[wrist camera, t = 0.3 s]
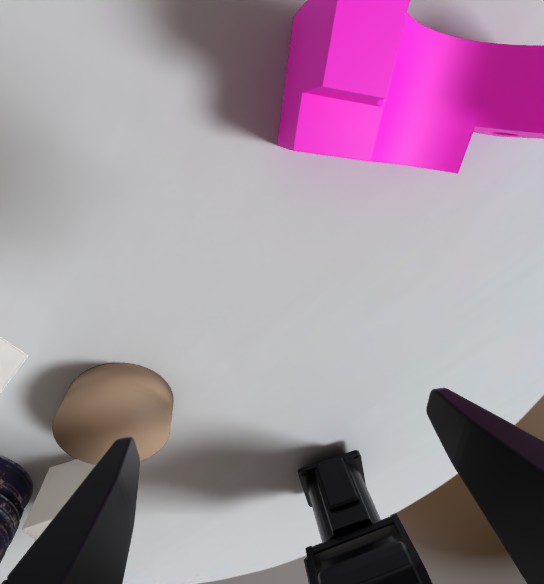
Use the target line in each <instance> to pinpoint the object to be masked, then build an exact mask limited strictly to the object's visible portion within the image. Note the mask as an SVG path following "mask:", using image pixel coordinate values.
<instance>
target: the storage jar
mask: <svg viewBox="0 0 544 584" xmlns="http://www.w3.org/2000/svg"><path fill="white" fill-rule="evenodd" d="M32 492H33V484H32V480H31V478H30V477H29V475H28V474H27V472H26V471H25V470H24V469H23V468H22V467H20V466H19V465H18V464H16V463H15V462H13V461H12V460H10V459H7V458H5V457H3V456H1V455H0V563H1V561H2V558H3V557H4V555H5V552H6V550H7V548H8V546H9V545H10V543H11V542H12V540H13V538H14V535H15V533H16V531H17V529H18V526H19V523H20V519H21V517H22V514H23V511H24V508H25V507H26V505H27V504H28V502H29V500H30V498H31V495H32Z"/></svg>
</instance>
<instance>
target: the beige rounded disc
mask: <svg viewBox="0 0 544 584" xmlns="http://www.w3.org/2000/svg"><path fill="white" fill-rule="evenodd" d="M172 409H173V394H172V391H171V388H170V387H169V385H168V383H167V382H166V381H165V380H164V379H163V378H162V377H161V376H160V375H158V374H157V373H155V372H154V371H152V370H150V369H148V368H145V367H143V366H139V365H135V364H129V363H109V364H103V365H99V366H96V367H94V368H91V369H89V370H87V371H85V372H84V373H82V374H81V375H80V376H78V377H77V378H76V379H75V380H74V382H73V383H72V384H71V386H70V388H69V390H68V392H67V394H66V396H65V398H64V400H63V402H62V404H61V406H60V408H59V410H58V411H57V413H56V415H55V418H54V421H53V426H52V429H53V435H54V438H55V440H56V442H57V443H58V445H59V446H60V447H61V448H62V449H63V450H64V451H65V452H66V453H67V454H69V455H70V456H72V457H74V458H75V459H78V460H80V461H82V462H85V463H89V464H93V465H96V464H97V463H98V462H99V460H100V459H101V458H102V457H103V455H104V454H105V453H106V452H107V450H108V449H109V448H110V447H111V445H112V444H113V443H114V442H115V440H117V439H119V438H124V437H133V438H134V440H135V444H136V447H137V450H138V453H139V457H140V461H143V460H145V459H147V458H149V457H151V456H152V455H154V454H155V453H156V452H158V451H159V450H160V449H161V448H162V447H163V446H164V444H165V443H166V441H167V439H168V437H169V434H170V427H171V418H172Z"/></svg>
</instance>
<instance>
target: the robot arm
mask: <svg viewBox="0 0 544 584" xmlns="http://www.w3.org/2000/svg"><path fill="white" fill-rule="evenodd" d="M427 415H428V417H429V419H430V421H431V423H432V425H433V427H434V429H435V431H436V433H437V435H438V437H439V439H440V441H441V443H442V445H443V447H444V449H445V451H446V453H447V455H448V457H449V458H450V460H451V462H452V464H453V466H454V467H455V469H456V471H457V472H458V474H459V475H460V477H461V478H462V480H463V482H464V483H465V485H466V486H467V488H468V490H469V491H470V493H471V494H472V496H473V498H474V499H475V501H476V502H477V504H478V506H479V507H480V509H481V510H482V512H483V513H484V515H485V517H486V518H487V520H488V522H489V523H490V525H491V526H492V528H493V529H494V531H495V533H496V534H497V536H498V538H499V539H500V541H501V542H502V544H503V545H504V547H505V549H506V550H507V552H508V553H509V555H510V557H511V558H512V560H513V561H514V563H515V565H516V566H517V568H518V569H519V571H520V573H521V574H522V576H523V577H524V579H525V581H526V582H527V584H544V441H543V440H541V439H539V438H537V437H535V436H533V435H531V434H530V433H528V432H526V431H524V430H522V429H520V428H519V427H517V426H515V425H513V424H511V423H509V422H508V421H506V420H504V419H502V418H500V417H498V416H496V415H495V414H493V413H491V412H489V411H487V410H485V409H484V408H482V407H480V406H478V405H476V404H474V403H473V402H471V401H469V400H467V399H465V398H463V397H461V396H460V395H458V394H456V393H454V392H452V391H450V390H449V389H446V388H438V389H433V390H432V391H431V392H430V396H429V400H428V404H427ZM139 467H140V457H139V453H138V450H137V447H136V444H135V440H134V438H133V437H124V438H119V439H117V440H115V442H114V443H113V444H112V445H111V447H110V448H109V449H108V450H107V452H106V453H105V454H104V455H103V457H102V458H101V459H100V460H99V462H98V463H97V464H96V465H95V467H94V468H93V469H92V471H91V472H90V473H89V474H88V476H87V477H86V478H85V479H84V481H83V482H82V483H81V484H80V486H79V487H78V488H77V489H76V491H75V492H74V493H73V494H72V496H71V497H70V498H69V500H68V501H67V502H66V503H65V505H64V506H63V507H62V508H61V510H60V511H59V512H58V513H57V515H56V516H55V517H54V518H53V520H52V521H51V522H50V523H49V525H48V526H47V527H46V529H45V530H44V531H43V532H42V534H41V535H40V536H39V537H38V539H37V540H36V541H35V542H34V544H33V545H32V546H31V547H30V549H29V550H28V551H27V552H26V554H25V555H24V556H23V558H22V559H21V560H20V561H19V563H18V564H17V565H16V566H15V568H14V569H13V570H12V571H11V573H10V574H9V575H8V577H7V579H8V580H4V581H3V583H2V584H122V582H123V577H124V572H125V567H126V562H127V557H128V552H129V547H130V542H131V538H132V532H133V527H134V519H135V510H136V499H137V489H138V478H139ZM298 474H299V478H300V481H301V484H302V487H303V490H304V493H305V496H306V499H307V502H308V505H309V506H310V507H313V511H314V514H315V518H316V522H317V525H318V529H319V532H320V536H321V539H322V543H321V544H318V545H315V546H313V547H312V546H309V547H307V548H306V553H307V557H306V558H305V559H304V563H305V567H306V572H307V576H308V582H309V584H432V582H431V580H430V578H429V575H428V573H427V571H426V569H425V567H424V565H423V563H422V561H421V559H420V557H419V555H418V553H417V551H416V549H415V548H414V546H413V544H412V542H411V540H410V538H409V536H408V535H407V533H406V531H405V529H404V527H403V525H402V524H401V522H400V520H399V518H398V516H397V514H396V513H395V514H392V515H390V517H388V518H385V519H383V520H381V519H380V517H379V515H378V512H377V510H376V508H375V506H374V503H373V501H372V499H371V497H370V494H369V492H368V490H367V487H366V484H365V478H364V472H363V467H362V461H361V455H360V453H359V451H357V450H354V451H351V452H348V453H345V454H342V455H339V456H336V457H333V458H330V459H327V460H324V461H321V462H318V463H315V464H312V465H309V466H306V467H303V468H300V469H299V470H298Z"/></svg>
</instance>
